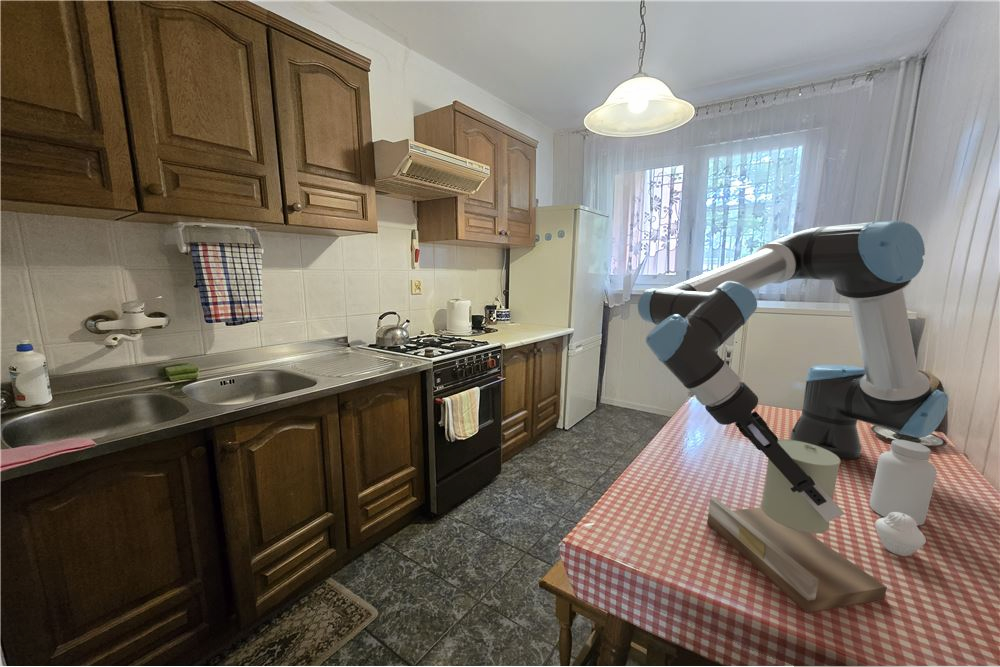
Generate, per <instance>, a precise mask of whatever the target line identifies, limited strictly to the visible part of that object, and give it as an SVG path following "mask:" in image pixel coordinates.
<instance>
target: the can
mask: <svg viewBox="0 0 1000 667" xmlns="http://www.w3.org/2000/svg"><path fill="white" fill-rule="evenodd" d="M778 443H779V445H780V446H781V447H782V448H783V449H784V450H785V451H786V452H787V453H788V454H789V456H790V457H791V458H792V459H793V460H794V461H795V462H796V463H797V464H798V465H799V466H800V468H801V469H802V470H803V471H804V472H805V473H806V474H807V475H808V476H810V477H811V478H812V479H813V480H814V481H815V482H816V483H817V484H818V485H819V486H820V487H821V488H822V490H823V491H824V492H825V493H826V494H827V495H828V496H829V497H830V498H831V499H832V500H833V499H834V494H835V489H836V483H837V478H838V473H839V469H840V465H841V458H839V457H838V456H837V455H835V454H834V453H832V452H830V451H828V450H826V449H824V448H821V447H819V446H816V445H813V444H809V443H805V442H801V441H795V440H790V439H778ZM765 476H766V477H765V483H764V488H763V495H762V499H761V502H760V507H761V508H762V510H763V512H764V513H765V514H766V515H767V516H769V517H770V518H771V519H773V520H774V521H776V522H778V523H780V524H782V525H784V526H786V527H788V528H791V529H794V530H797V531H801V532H805V533H810V534H816V535H817V534H824V533H826V532H828V531H829V529H830V521H829V522H827V521H826V520H825V519H824V518H823V517H822V516H821V515H820V514H819V513H818V512H817V510H816V509H815V508H814V507H813V506H812V505H811V504H810V503H809V502H808V501H807V500H806V499H805V498H804V496H803V495H802V494H801V493H799V492H798V491H796V492H793V491H792V490H791V488H792V487H794V486H793V485H792V484H791V483H790V482H789V481H788V479H787V478H786V477H785V476H784V475H783V474H782V473H781V472H780V471H779V469H778V468H777V467H776V466H775V465H774V464H773V463H772V462H771V461H770V460H769V459H767V468H766V475H765ZM833 501H834V500H833Z"/></svg>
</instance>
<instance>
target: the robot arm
mask: <svg viewBox="0 0 1000 667" xmlns="http://www.w3.org/2000/svg"><path fill="white" fill-rule="evenodd" d="M925 250H926V249H925V242H924V240H923V237H922V235H921V233H920V232H919V229H917V228H916V227H915V226H913V225H912V224H910V223H907V222H905V221H902V220H894V221H893V220H891V221H890V220H889V221H886V220H874V221H871V222H870V221H869V222H863V223H862V222H861V223H848V224H838V225H837V224H836V225H824V226H816V227H812V228H808V229H804V230H800V231H797V232H794V233H791V234H788V235H785V236H783V237H781V238H778V239H775V240H773V241H770V242H768V243H765V244H764V245H762V246H760V247H759V248H758V249H757V250H756V251H755V253H753V254H752V253H751V254H749V255H747V256H745V257H742V258H740V259H738V260H735V261H732V262H730V263H727V264H724V265H723V266H720V267H717V268H715V269H712V270H710V271H708V272H705V273H703V274H701V275H698V276H695V277H693V278H690V279H687V280H685V281H683V282H680V283H677V284H674V285H672V286H670V287H666V288H661V287H656V288H649V289H646V290H645V291H643V292H642V294H641V295H640V296H639V298H638V302H637V312H638V314H639V316H640V318H641V319H642V320H643V321H645V322H647V323H651V324H654V325H655V327H654V328H652V330H650V331H649V332H648V334H646V338H645V343H646V344H647V346H648V348H649V349H650V350H651V351H652V353H653V355H654V356H656V358H657V360H658V361H660V362H661V363H662V364H663V365H664V366H665V367H666V368H667V369H668V370H669V371H670V372H671V373H672V374H673V375H674V376H675V377H676V379H677V380H679V382H680V383H681V384H682V385H683V386H684V388H686V389H687V390H688V392H687V396H688V397H689V398H693V397H695V399H696V400H697V401H698V403H699V404H701V405H702V406H705V407H704V408H705V410H706V411H707V413H709V415H710V416H711V417H712V418H713V419H714V420H715V421H716V422H717V423H718V424H720V425H723V426H724V425H725V426H728V425H732V424H734V425H735V426H736V427H737V429H738V431H739V432H740V433H741V434H742V435H743V436H744V437H745V438H747V439H748V440H749V441H750V442H751V443H752V445H753V446H754V447H755V449H757V450H758V451H760V452H761V453H763V454H764V455H765V456H766V458H768V460H770V461H771V462H772V463H773V464H774V465H775V466H776V467H777V468H778V469H779V471H780V472H781V473H782V474H783V475H784V476H785V477H786V478H787V479H788V481H789V482H790V483H791V484H792V485H793V486H794V487H792V488H791V490H792V491H793V492H796V491H798V492H799V493H801V494H802V495H803V496H804V498H805V499H806V500H807V501H808V502H809V503H810V504H811V505H812V506H813V507H814V508H815V509H816V510H817V512H818V513H819V514H820V515H821V516H822V517H823V518H824V519H825V520H826V521H827V522H829V523H830V522H831V521H833V520H835V519H837V518H839V517H842V516H843V515H845V512H844V511H843V509H842V508H840V507H839V505H838V504H837V503H836V502H835V501H834V500H832V499H831V498H830V497H829V496H828V495H827V494H826V493H825V492H824V491H823V490H822V488H821V487H820V486H819V485H818V484H817V483H816V482H815V481H814V480H813V479H812V478H811V477H810V476H808V475H807V474H806V473H805V472H804V471H803V470H802V469H801V468H800V466H799V465H798V464H797V463H796V462H795V461H794V460H793V459H792V458H791V457H790V456H789V454H788V453H787V452H786V451H785V450H784V449H783V448H782V447H781V446H780V445H779V443H778V440H779V438H778V437H777V435H776V434H775V433H774V432H773V431H772V430H771V429H770V427H769V426H768V424H767V422H766V421H765V420H764V418H763V417H762V416H761V415H760V414H759V413H758V412H757V411H756V410H755V409H756V407H757V406H758V403H759V397H758V396H757V395H756V394H755V392H753V390H752V389H751V388H750V387H749V386H748V385H747V384H746V383H745V382H743V381H741V377H740V376H739V375H738V374H737V372H735V371H734V370H733V369H732V368H731V366H729V365H728V364H727V362H725V360H723V359H722V358H721V357H720V355H718V353H717V352H716V351H717V350H718V349H719V348H720V347H721V346H722V345H723V344H724V343H725V342H726V341H727V340H728V339H730V338H731V337H732V336H733V335H734V334H735V333H736V332H737V331H738V330H739V329H740V328H741V327H742V326H744V325H745V324H746V323H747V321H748V320H749V319H750V318H751V316H752V315H753V314H754V313H755V312H756V311H757V308H758V301H757V298H756V296H755V294H754V292H753V291H754V290H757V289H759V288H762V287H764V286H767V285H769V284H775V285H776V284H783V283H785V282H787V281H790V280H791V281H792V280H824V281H833V285H834V289H835V292H836V293H837V295H839V296H840V297H842V298H846V299H847V303H848V307H849V311H850V315H851V319H852V324H853V327H854V331H855V334H856V335H855V336H856V339H857V343H858V347H859V352H860V356H861V361H862V364H863V367H861V366H854V365H845V364H843V365H841V364H839V365H838V364H818V365H817V364H816V365H813V366H811V367H810V368H809V369H808V372H807V376H806V379H805V388H804V395H803V403H802V409H801V410H802V411H801V415H800V417H799V418H798V419H797V421H796V422H795V424H794V427H793V428H792V429H791V431H790V437H789V440H795V441H801V442H805V443H809V444H813V445H816V446H819V447H821V448H824V449H826V450H828V451H830V452H832V453H834V454H835V455H837V456H838V457H839V459H840V460H841V459H844V460H853V459H858V458H859V457H861V453H862V444H861V442H860V436H859V432H858V428H857V425H858V424H857V423H858V421H860V422H862V423H863V422H864V423H866V424H869V425H872V426H874V427H875V426H876V427H879V428H881V429H885V430H888V431H891V432H894V433H897V434H900V435H906V436H910V437H912V438H913V437H914V438H926V437H928V436H929V435H931V434H933V433H934V432H935V431H936V429H937V428H938V427H939V426H940V424H941V422H942V421H943V419H944V417H945V415H946V412H947V410H948V406H949V396H948V394H947V393H946V392H944V391H941V390H940V389H933V388H932V385H931V381H930V378H928V376H927V375H926V374H925V373H923V372H921V371H920V370H919V369H918V364H917V358H916V354H915V353H916V352H915V347H914V342H913V336H912V332H911V326H910V322H909V316H908V309H907V305H906V300H905V293H904V289H905V288H907V287H908V286H909V285H910V284H911V282H912V280H913V279H915V278H916V276H918V274H919V273H920V272H921V269H922V267H923V266H924V261H925V260H924V259H923V257H924V256H925V255H926V251H925Z"/></svg>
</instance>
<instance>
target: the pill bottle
mask: <svg viewBox="0 0 1000 667" xmlns="http://www.w3.org/2000/svg"><path fill="white" fill-rule="evenodd" d="M931 454H932V450H931V449H930V448H929V447H928V446H925V445H924V444H921V443H918V442H914V441H910V440H906V439H893V440H892V441H891V443H890V450H889V451H885V452H882V453H881V454H880V455H879V457H878V460H877V466H876V470H875V475H874V479H873V483H872V489H871V494H870V499H869V506H870V508H871V510H873V511H874V512H875V513H877V514H879V515H880V516H882V518H885V517H887V516H888V514H889V513H891V512H900V513H903V514H906V515H908V516H910V517H911V518H913V519H914V520H915V521H916V523H917V527H918V526H919V525H920V526H922V525H924V523H925V522H926V519H927V515H928V512H929V511H928V510H929V506H930V503H931V499H932V494H933V490H934V486H935V483H936V478H937V468H936V466H935V465H934V464H933V463H932V462H930V457H931Z"/></svg>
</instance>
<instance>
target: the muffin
mask: <svg viewBox="0 0 1000 667" xmlns="http://www.w3.org/2000/svg"><path fill="white" fill-rule="evenodd" d="M874 526H875V528H876V533H877V535H878V538H879V540H880V541H881V545H882V546H883V547H884V549H885V550H887V551H889V552H890V553H893V554H895V555H897V556H901V557H909V556H910V555H912V554H914V553H916V552H917V551H918V550H920V549H921V548H922V547H923V546H925V544H926V542H927V540H926V537H925V535H924V534H923V532H922V531H921V530H920V529H919V527H918V526H917V523H916V521H915V520H914V519H913V518H911V517H910V516H908V515H906V514H903V513H900V512H891V513H889V514H888V516H887V517H881V518H878V519H877V520H876V521H875V522H874Z"/></svg>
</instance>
